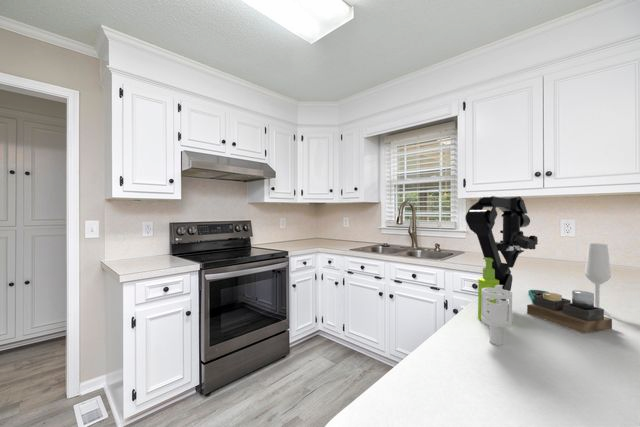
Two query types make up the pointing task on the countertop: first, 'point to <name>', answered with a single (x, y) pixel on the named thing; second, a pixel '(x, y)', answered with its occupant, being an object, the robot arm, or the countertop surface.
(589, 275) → the champagne flute
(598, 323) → the knob console
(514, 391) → the countertop surface
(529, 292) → the digital multimeter
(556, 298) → the brass knob
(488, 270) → the soap dispenser
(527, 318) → the countertop surface
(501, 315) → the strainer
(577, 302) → the steel knob
